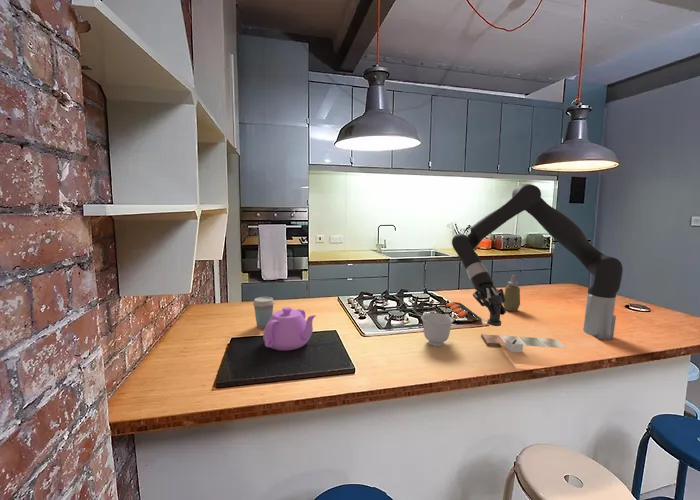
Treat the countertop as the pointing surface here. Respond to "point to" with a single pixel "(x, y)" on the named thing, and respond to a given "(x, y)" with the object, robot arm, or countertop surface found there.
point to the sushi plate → (460, 310)
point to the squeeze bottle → (512, 295)
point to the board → (530, 341)
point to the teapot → (288, 329)
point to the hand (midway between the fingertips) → (499, 314)
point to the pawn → (496, 303)
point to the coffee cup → (263, 310)
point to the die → (514, 346)
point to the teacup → (436, 327)
